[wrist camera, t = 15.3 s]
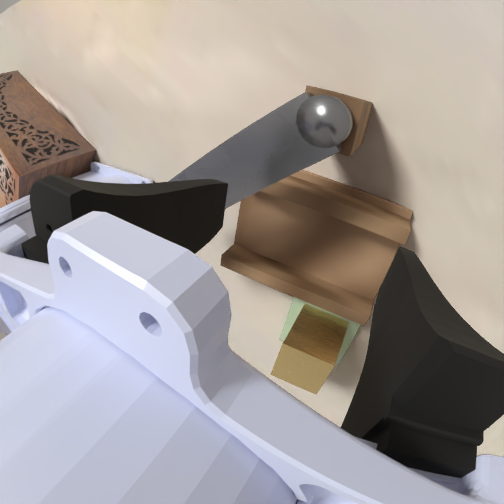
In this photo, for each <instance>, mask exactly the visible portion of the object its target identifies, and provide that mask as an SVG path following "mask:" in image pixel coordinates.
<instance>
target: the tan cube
mask: <svg viewBox="0 0 504 504" xmlns="http://www.w3.org/2000/svg"><path fill="white" fill-rule="evenodd" d="M348 324H349V322H348V321H346V320H343V319H341V318H339V317H336V316H334V315H331V314H329V313H327V312H324V311H322V310H320V309H317V308H315V307H312V306H310V305H308V304H304V306H303V307H302V309H301V311H300V313H299V315H298V317H297V318H296V320H295V322H294V324H293V326H292V328H291V329H290V331H289V333H288V335H287V337H286V338H285V340H284V342H283V344H282V347H281V349H280V352H279V354H278V357H277V359H276V362H275V365H274V367H273V370H272V372H271V375H273V376H275V377H277V378H280V379H282V380H284V381H286V382H288V383H291V384H293V385H295V386H298V387H300V388H302V389H305V390H307V391H309V392H312V393H314V394H317V393H318V391H319V390H320V388H321V387H322V385H323V383H324V382H325V380H326V379H327V377H328V376H329V374H330V372H331V371H332V369H333V368H334V366H335V363H336V360H337V358H338V355H339V352H340V349H341V346H342V343H343V340H344V337H345V334H346V331H347V327H348Z"/></svg>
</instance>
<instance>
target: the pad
mask: <svg viewBox="0 0 504 504" xmlns="http://www.w3.org/2000/svg"><path fill="white" fill-rule="evenodd" d="M304 304H308V305H310V306H312V307H315V308H317V309H320V310H322V311H324V312H327V313H329V314H331V315H334V316H336V317H339V318H341V319H343V320H346V321H348V322H349V324H348V327H347V331H346V334H345V337H344V340H343V343H342V346H341V349H340V352H339V355H338V358H337V360H336V363H335V364H337V365H338V364H339V362H340V361H341V359H342V357H343V355H344V354H345V352H346V350H347V349H348V347H349V345H350V343H351V342H352V340H353V338H354V336H355V334H356V333H357V331H358V329H359V327H360V325H361V324H359V323H356V322H354V321H351V320H349V319H346V318H344V317H341V316H339V315H336V314H334V313H332V312H329V311H327V310H324V309H322V308H319V307H317V306H315V305H312V304H310V303H307V302H305V301H303V300H300V299H298V298H296V297H294V298H293V301H292V304H291V307H290V310H289V313H288V316H287V319H286V322H285V325H284V328H283V331H282V334H281V336H280V339H279V340H281V341H283V342H284V340H285V338H286V337H287V335H288V333H289V331H290V329H291V328H292V326H293V324H294V322H295V320H296V318H297V317H298V315H299V313H300V311H301V309H302V307H303V306H304Z"/></svg>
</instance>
